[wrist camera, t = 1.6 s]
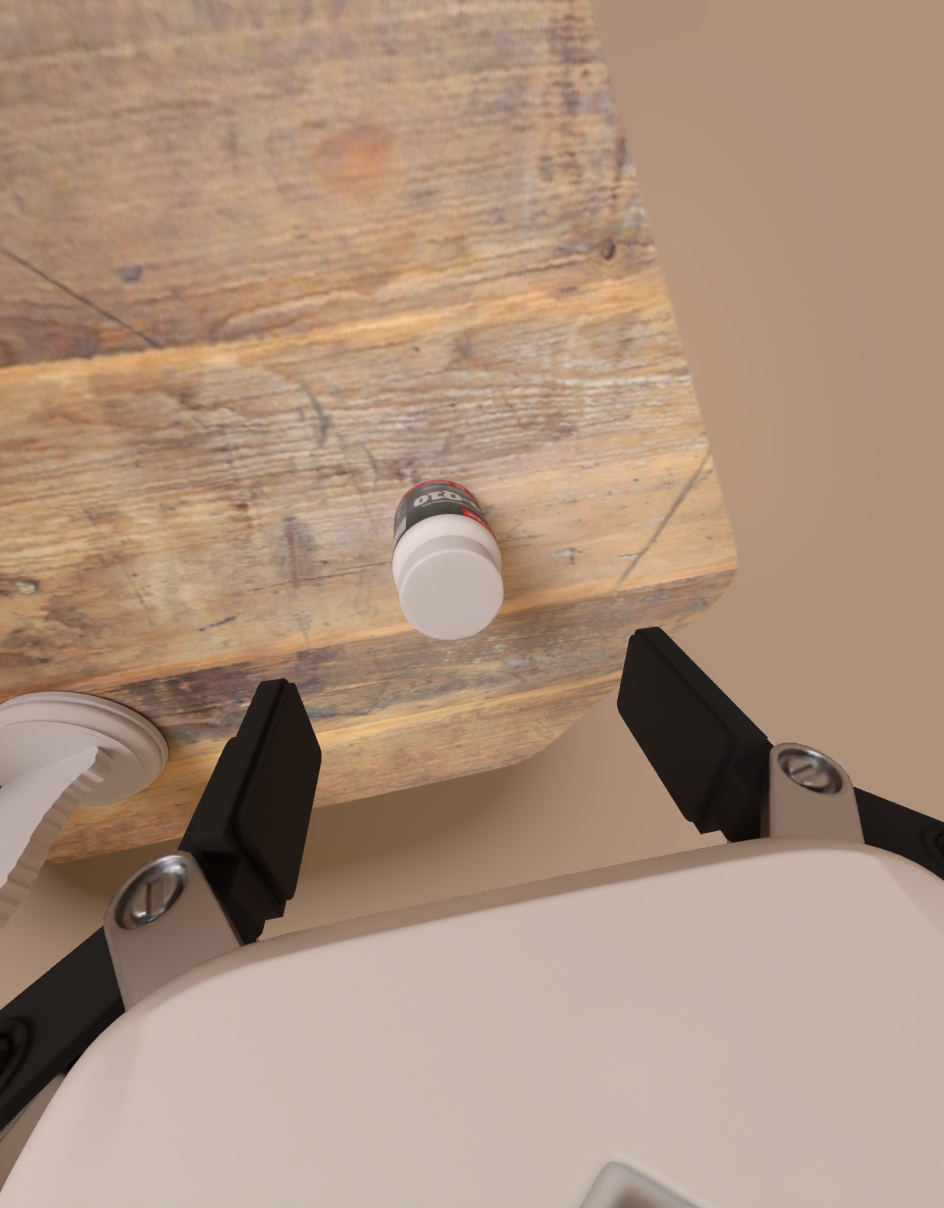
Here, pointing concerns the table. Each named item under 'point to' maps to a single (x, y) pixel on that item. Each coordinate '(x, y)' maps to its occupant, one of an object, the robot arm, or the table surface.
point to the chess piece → (63, 773)
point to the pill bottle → (445, 561)
